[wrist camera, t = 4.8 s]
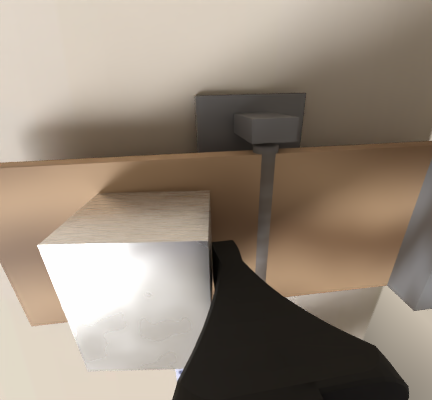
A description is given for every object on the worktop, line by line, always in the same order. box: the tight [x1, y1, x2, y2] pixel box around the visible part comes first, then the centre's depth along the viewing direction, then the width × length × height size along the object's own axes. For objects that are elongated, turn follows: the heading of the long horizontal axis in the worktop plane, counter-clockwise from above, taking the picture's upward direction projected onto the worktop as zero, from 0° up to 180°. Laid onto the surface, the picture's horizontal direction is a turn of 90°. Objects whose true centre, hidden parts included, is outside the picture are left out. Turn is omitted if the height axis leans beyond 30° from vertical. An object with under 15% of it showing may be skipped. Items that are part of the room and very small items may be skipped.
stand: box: [195, 93, 306, 153], centre depth 14 cm, size 14×6×4 cm, turn 1°
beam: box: [0, 141, 432, 326], centre depth 12 cm, size 10×26×3 cm, turn 91°
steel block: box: [38, 190, 214, 371], centre depth 10 cm, size 6×5×4 cm
